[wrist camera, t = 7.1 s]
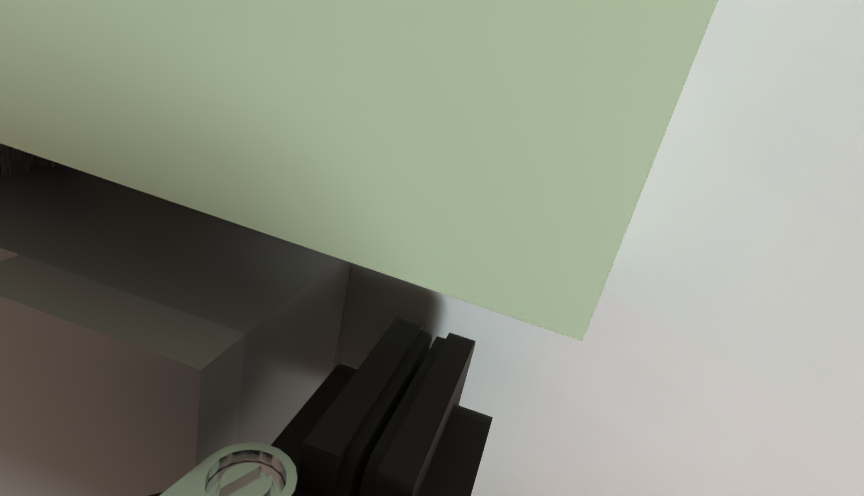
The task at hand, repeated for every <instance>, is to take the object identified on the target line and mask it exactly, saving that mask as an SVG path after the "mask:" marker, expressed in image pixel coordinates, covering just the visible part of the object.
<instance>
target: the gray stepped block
mask: <svg viewBox="0 0 864 496" xmlns="http://www.w3.org/2000/svg"><path fill="white" fill-rule="evenodd" d="M350 267H351V262H348V261H345V260H342V259H339V258H336V257H333V256H330V255H327V254H324V253H321V252H318V251H315V250H313V249H310V248H307V247H304V246H301V245H298V244H295V243H292V242H289V241H286V240H283V239H280V238H277V237H274V236H271V235H268V234H265V233H263V232H260V231H257V230H254V229H251V228H248V227H245V226H242V225H239V224H236V223H233V222H230V221H227V220H224V219H221V218H218V217H215V216H213V215H210V214H207V213H204V212H201V211H198V210H195V209H192V208H189V207H186V206H183V205H180V204H177V203H174V202H171V201H168V200H165V199H163V198H160V197H157V196H154V195H151V194H148V193H145V192H142V191H139V190H136V189H133V188H130V187H127V186H124V185H121V184H118V183H115V182H113V181H110V180H107V179H104V178H101V177H98V176H95V175H92V174H89V173H86V172H83V171H80V170H77V169H74V168H71V167H68V166H65V165H60V166H55V167H50V168H46V169H41V170H36V171H31V172H26V173H21V174H16V175H11V176H6V177H1V178H0V496H148V495H152V494H157V493H161V492H165V491H166V490H167V489H168V488H170V487H171V486H172V485H173V484H175V483H176V482H177V481H178V480H180V479H181V478H182V477H184V476H185V475H186V474H187V473H189V472H190V471H191V470H192V469H194V468H195V467H196V466H197V465H199V464H200V463H201V462H202V461H204V460H205V459H206V458H207V457H209V456H210V455H212V454H214V453H215V452H217V451H219V450H220V449H222V448H225V447H228V446H231V445H234V444H238V443H249V442H255V443H262V444H268V445H271V444H272V443H273V442H274V441H275V439H276V438H277V437H278V436H279V435H280V433H281V432H282V431H283V430H284V429H285V427H286V426H287V425H288V424H289V423H290V421H291V420H292V419H293V418H294V416H295V415H296V414H297V413H298V412H299V410H300V409H301V408H302V407H303V406H304V404H305V403H306V402H307V401H308V400H309V398H310V397H311V396H312V395H313V394H314V392H315V391H316V390H317V389H318V388H319V386H320V385H321V384H322V383H323V382H324V380H325V379H326V378H327V377H328V376H329V374H330V373H331V372H332V371H333V370H334V364H335V358H336V352H337V345H338V339H339V333H340V327H341V321H342V315H343V309H344V303H345V297H346V291H347V285H348V279H349V273H350Z"/></svg>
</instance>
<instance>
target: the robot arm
mask: <svg viewBox="0 0 864 496" xmlns="http://www.w3.org/2000/svg"><path fill="white" fill-rule="evenodd" d="M424 328H425V326H424V324H421V323H418V322H415V321H412V320H409V319H406V318H403V317H400V316H398V317H397V318H396V320H395V321H394V322H393V324H392V325H391V326H390V328H389V329H388V330H387V332H386V333H385V334H384V336H383V337H382V338H381V340H380V341H379V342H378V344H377V345H376V346H375V348H374V349H373V350H372V351H371V353H370V354H369V355H368V357H367V358H366V359H365V361H364V362H363V363H362V365H361V366H360V367H359V369H358V370H356V369H354V368H351V367H348V366H345V365H342V364H340V365H338V366H337V367H336V368H334V370H333V371H332V372H331V373H330V374H329V376H328V377H327V378H326V379H325V380H324V382H323V383H322V384H321V385H320V386H319V388H318V389H317V390H316V391H315V392H314V394H313V395H312V396H311V397H310V398H309V400H308V401H307V402H306V403H305V404H304V406H303V407H302V408H301V409H300V410H299V412H298V413H297V414H296V415H295V416H294V418H293V419H292V420H291V421H290V423H289V424H288V425H287V426H286V427H285V429H284V430H283V431H282V432H281V433H280V435H279V436H278V437H277V438H276V439H275V441H274V442H273V443H272V444H271V445H268V444H262V443H255V442H249V443H238V444H234V445H231V446H228V447H225V448H222V449H220V450H219V451H217V452H215V453H214V454H212V455H210V456H209V457H207V458H206V459H205V460H204V461H202V462H201V463H200V464H199V465H197V466H196V467H195V468H194V469H192V470H191V471H190V472H189V473H187V474H186V475H185V476H184V477H182V478H181V479H180V480H178V481H177V482H176V483H175V484H173V485H172V486H171V487H170V488H168V489H167V490H166V491H165V492H161V493H157V494H152V495H148V496H471V493H472V489H473V486H474V482H475V479H476V475H477V471H478V468H479V464H480V461H481V457H482V454H483V450H484V447H485V443H486V439H487V436H488V432H489V429H490V425H491V422H492V418H493V417H490V416H487V415H484V414H481V413H478V412H476V411H473V410H470V409H467V408H464V407H461V406H459V401H460V398H461V394H462V390H463V387H464V383H465V379H466V376H467V372H468V368H469V365H470V361H471V357H472V354H473V350H474V346H475V341H473V340H470V339H467V338H464V337H461V336H458V335H455V334H452V333H449V334H448V336H447V338H446V339H444V338H441V337H438V336H437V337H436V339H435V341H434V342H433V344H432V346H431V348H430V344H431V340H432V334H429V333H426V332H424ZM429 349H430V350H429Z"/></svg>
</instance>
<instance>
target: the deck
mask: <svg viewBox="0 0 864 496" xmlns="http://www.w3.org/2000/svg"><path fill="white" fill-rule="evenodd" d="M717 1H718V0H0V143H1V144H4V145H7V146H10V147H13V148H15V149H18V150H21V151H24V152H27V153H30V154H33V155H36V156H39V157H42V158H45V159H48V160H51V161H54V162H57V163H60V164H63V165H65V166H68V167H71V168H74V169H77V170H80V171H83V172H86V173H89V174H92V175H95V176H98V177H101V178H104V179H107V180H110V181H113V182H115V183H118V184H121V185H124V186H127V187H130V188H133V189H136V190H139V191H142V192H145V193H148V194H151V195H154V196H157V197H160V198H163V199H165V200H168V201H171V202H174V203H177V204H180V205H183V206H186V207H189V208H192V209H195V210H198V211H201V212H204V213H207V214H210V215H213V216H215V217H218V218H221V219H224V220H227V221H230V222H233V223H236V224H239V225H242V226H245V227H248V228H251V229H254V230H257V231H260V232H263V233H265V234H268V235H271V236H274V237H277V238H280V239H283V240H286V241H289V242H292V243H295V244H298V245H301V246H304V247H307V248H310V249H313V250H315V251H318V252H321V253H324V254H327V255H330V256H333V257H336V258H339V259H342V260H345V261H348V262H351V263H354V264H357V265H360V266H363V267H365V268H368V269H371V270H374V271H377V272H380V273H383V274H386V275H389V276H392V277H395V278H398V279H401V280H404V281H407V282H410V283H413V284H415V285H418V286H421V287H424V288H427V289H430V290H433V291H436V292H439V293H442V294H445V295H448V296H451V297H454V298H457V299H460V300H463V301H465V302H468V303H471V304H474V305H477V306H480V307H483V308H486V309H489V310H492V311H495V312H498V313H501V314H504V315H507V316H510V317H512V318H515V319H518V320H521V321H524V322H527V323H530V324H533V325H536V326H539V327H542V328H545V329H548V330H551V331H554V332H557V333H560V334H562V335H565V336H568V337H571V338H574V339H577V340H580V341H582V340H583V337H584V335H585V332H586V330H587V327H588V325H589V322H590V320H591V317H592V315H593V312H594V310H595V307H596V305H597V302H598V300H599V297H600V295H601V292H602V290H603V287H604V285H605V282H606V280H607V277H608V275H609V272H610V270H611V267H612V265H613V262H614V260H615V257H616V255H617V252H618V249H619V247H620V244H621V242H622V239H623V237H624V234H625V232H626V229H627V227H628V224H629V222H630V219H631V217H632V214H633V212H634V209H635V207H636V204H637V202H638V199H639V197H640V194H641V192H642V189H643V187H644V184H645V182H646V179H647V177H648V174H649V172H650V169H651V167H652V164H653V162H654V159H655V157H656V154H657V152H658V149H659V147H660V144H661V142H662V139H663V136H664V134H665V131H666V129H667V126H668V124H669V121H670V119H671V116H672V114H673V111H674V109H675V106H676V104H677V101H678V99H679V96H680V94H681V91H682V89H683V86H684V84H685V81H686V79H687V76H688V74H689V71H690V69H691V66H692V64H693V61H694V59H695V56H696V54H697V51H698V49H699V46H700V44H701V41H702V39H703V36H704V34H705V31H706V29H707V26H708V24H709V21H710V18H711V16H712V13H713V11H714V8H715V6H716V3H717Z"/></svg>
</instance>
